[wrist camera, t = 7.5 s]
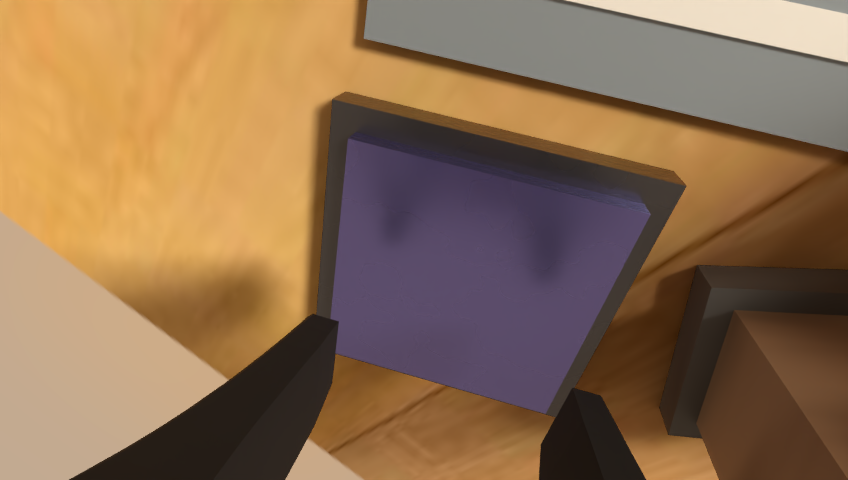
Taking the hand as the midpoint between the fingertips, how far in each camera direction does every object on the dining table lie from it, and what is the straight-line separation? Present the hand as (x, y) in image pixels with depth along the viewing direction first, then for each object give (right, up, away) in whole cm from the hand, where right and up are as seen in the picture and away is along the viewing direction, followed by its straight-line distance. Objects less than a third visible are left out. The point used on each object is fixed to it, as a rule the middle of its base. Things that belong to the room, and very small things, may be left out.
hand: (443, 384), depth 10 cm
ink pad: (+1, +2, +4) cm, 5 cm away
